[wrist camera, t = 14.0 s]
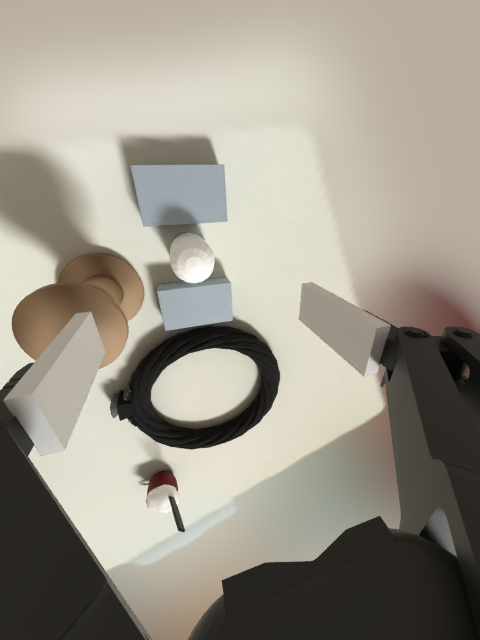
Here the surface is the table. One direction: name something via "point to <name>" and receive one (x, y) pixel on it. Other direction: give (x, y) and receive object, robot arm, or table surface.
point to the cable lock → (138, 390)
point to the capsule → (191, 258)
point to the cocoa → (164, 496)
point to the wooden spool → (82, 304)
